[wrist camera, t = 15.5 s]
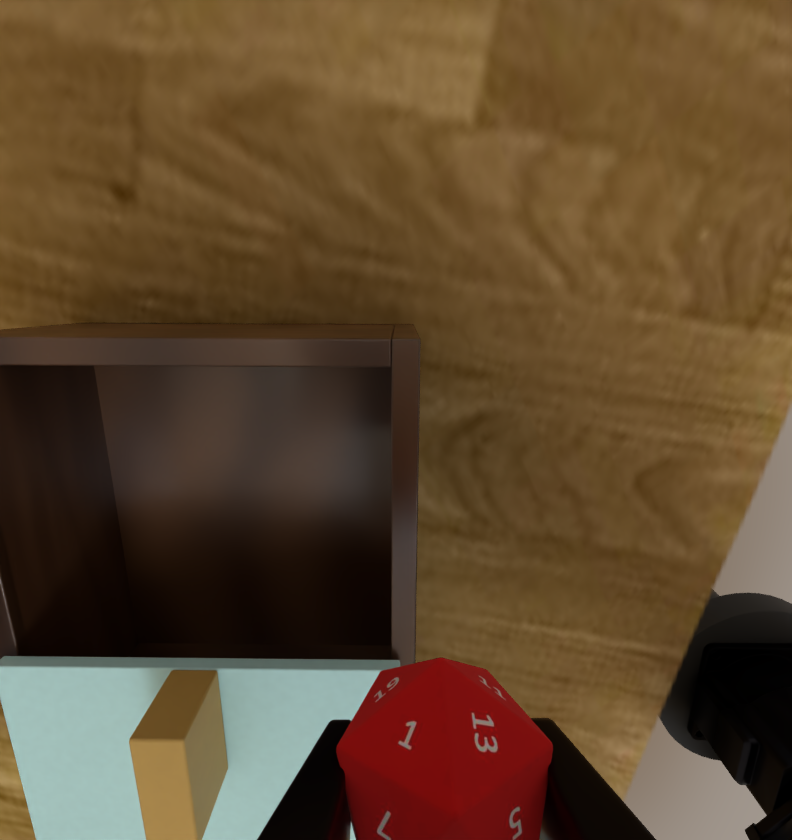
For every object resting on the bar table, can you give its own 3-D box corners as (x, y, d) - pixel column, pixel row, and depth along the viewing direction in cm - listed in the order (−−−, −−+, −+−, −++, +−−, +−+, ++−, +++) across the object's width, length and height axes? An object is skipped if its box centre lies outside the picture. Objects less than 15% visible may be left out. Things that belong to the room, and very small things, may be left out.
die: (526, 609, 8) (407, 898, 5) (610, 749, 9) (547, 1069, 6) (381, 604, 10) (247, 796, 8) (456, 714, 11) (359, 926, 8)
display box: (413, 324, 20) (420, 338, 13) (407, 799, 26) (410, 973, 20) (80, 322, 20) (-86, 336, 13) (157, 796, 26) (73, 968, 20)
